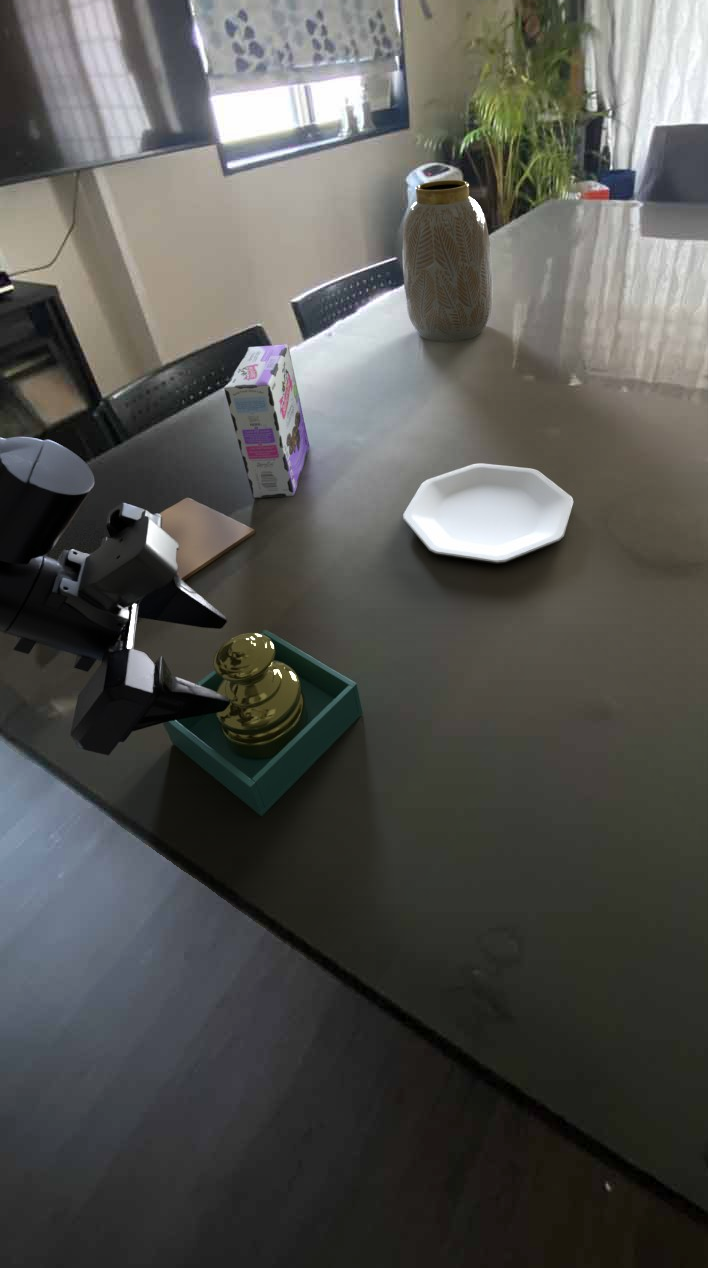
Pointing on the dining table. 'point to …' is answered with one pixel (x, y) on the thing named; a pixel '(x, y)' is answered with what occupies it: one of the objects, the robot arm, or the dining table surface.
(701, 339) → the dining table surface
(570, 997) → the dining table surface
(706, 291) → the dining table surface
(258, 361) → the candy box
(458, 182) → the vase
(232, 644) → the brass door knob
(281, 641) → the storage box
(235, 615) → the dining table surface
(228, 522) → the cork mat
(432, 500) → the plate
